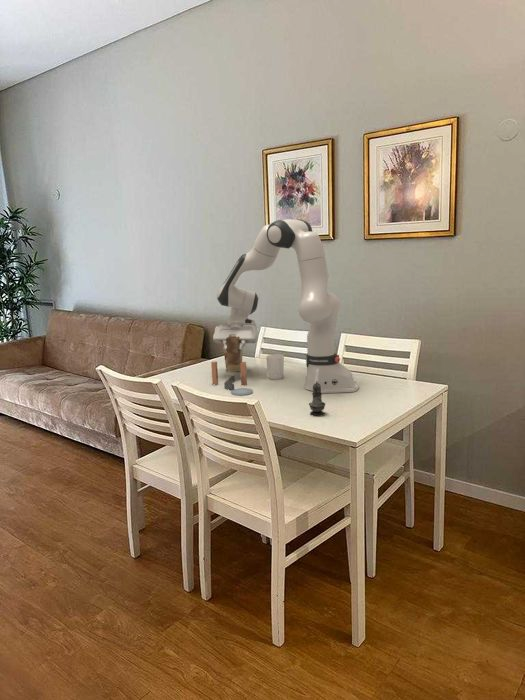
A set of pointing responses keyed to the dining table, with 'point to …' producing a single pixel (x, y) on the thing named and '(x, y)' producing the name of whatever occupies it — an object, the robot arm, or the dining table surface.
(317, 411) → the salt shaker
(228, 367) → the coffee cup
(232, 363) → the block
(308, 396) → the dining table surface
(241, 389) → the pad
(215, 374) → the wire course
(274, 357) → the white cup
